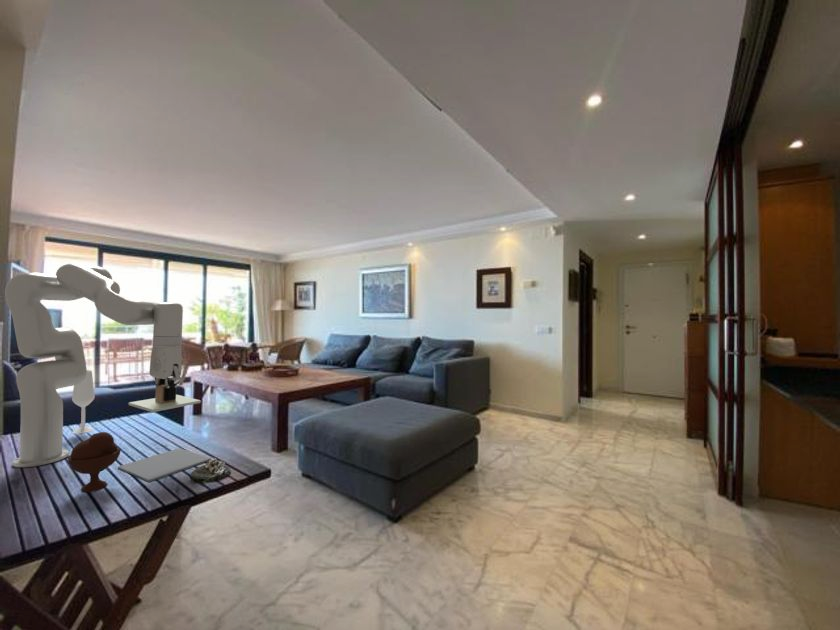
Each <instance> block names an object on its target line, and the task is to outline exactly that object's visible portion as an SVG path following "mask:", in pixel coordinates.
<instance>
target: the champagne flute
mask: <svg viewBox="0 0 840 630" xmlns="http://www.w3.org/2000/svg"><path fill="white" fill-rule="evenodd" d="M93 376H94V375H93V370H91V369H88V370H87V373H86V377H85V379H84V380H83V381H82V382H81V383H79V384H77V385H73V391H72V398H71V401H72V402H73V403H74V404H75V405H76V406H78V407H80V408H81V411H80V413H81V415H80V416H81V417H80V419H81V421H80V426H79V427H78V428H76V429H75V430H73V431H71V434H75V435H78V434H86V433H90V432H93V431H94V430H95V429H94V428H93V427H90V426H86V407H88V406H90V404H91V403H92V402H93V401H94V400H95V398H96V396H95V395H96V394H95V389H94V388H95V385H94V378H93Z"/></svg>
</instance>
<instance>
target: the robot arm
mask: <svg viewBox="0 0 840 630" xmlns="http://www.w3.org/2000/svg"><path fill="white" fill-rule="evenodd" d="M120 290H121V287H120V284H119V283H117V281H115V280H113V277H112V275H111V273H110V272H109V271H108V270H106V268H103V267H101V266H96V265H90V264H89V265H88V264H82V263H67V264H64V265H61V266H60V267H59V268H58V269H57V270H56V272H55V274H51V273H41V272H24V273H19V274H17V275H14V276H13V277H12V278H11V279H9V280H8V282H7V283H6V286H5V289H4V299H5V302H6V305H7V307H8V309H9V312H10V314H11V317H12V321H13V329H14V333H15V338H16V343H17V344H16V345H17V349H18V352H19V354H20V355H21V356H23V357H24V358H27V359H39V358H40V359H42V358H51V357H54V359H53V360H47V361H39V362H38V361H37V362H33V363H29V364H27V365H25V366H23V367H21V369H19V371H18V372H17V374H16V378H15V381H16V385H17V389H18V392H19V399H20V400H19V401H20V425H19V426H20V428H19V429H20V434H19V437H20V438H19V439H20V440H19V443H20V444H19V446H20V447H19V457H16V458H15V459H13V460H12V466H13V467H15V468H32V467H39V466H45V465H47V464H48V465H49V464H52V463H55V462H59V461H61V460H64V459H67V457H68V456H70V452H69V450H68V449H63V445H64V444H63V439H64V438H63V436H64V435H63V434H64V433H63V431H64V429H63V428H64V402H63V399H62V397H61V396H60V394H59V393H58V391H57V390H59V389H64V388H68V387H74V385H77V384H79V383H81V382H82V381H83V380H84V379H85V377H86V373H87V363H86V357H85V356H86V355H85V352H84V347H83V341H82V339H81V336H80V335H79V334H78V333H77V331H75V330H74V329H71V328H68V327H54V325H53V320H52V315H51V313H50V311H49V310H48V308H47V307H46V306H45V305H44V304H42V303H41V301H42V300H44V301H63V302H65V301H66V302H67V301H76V300H79V299H84V298H86V299H87V300H89V301H91V302H92V303H94V305H95V308H96V309H97V311H98V312H99V313H100V314H101V315H103V316H105V317H107V318H109V319H111V320H113V321H114V322H116V323H119V324H121V325H125V326H148V325H149V326H151V325H152V326H153V332H152V334H153V335H152V349H151V354H150V361H149V362H150V363H149V375H150V376H151V377H153V378H154V380H155V381H154V382H155V383H154V384H155V387H156V386H159V385H166V388H164V401H169V400H175V399H176V395H177V387H178V383H179V382H180V381H182V380H181V379H182V378H181V376H182V372H183V371H182V369H183V368H182V364H183V363H182V362H183V360H182V348H181V347H183V346H182V344H183V343H182V341H183V316H184V315H183V314H184V313H183V312H184V308H183V305H182V304H181V303H177V302H157V301H150V300H149V301H147V300H146V301H145V300H131V299H128V298H125V297H124V296H122V295H120V292H121V291H120Z"/></svg>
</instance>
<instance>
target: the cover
mask: <svg viewBox="0 0 840 630" xmlns="http://www.w3.org/2000/svg"><path fill="white" fill-rule="evenodd" d="M164 388H166V385H159V386H156V385H155V395H154V398H148V399H147V398H146V399H143V400H142V399H141V400H136V401H130V402H128V406H131V407H134V408H137V409H140V410H143V411H147V412H150V413H157V412H161V411H166V410H167V411H168V410H171V409H176V408H181V407H186V406H191V405H197V404H201V402H202V401H201V400H200V399H196V398H192V397H189V396H184V395H181V394H176V399H175V400H169V401H164Z"/></svg>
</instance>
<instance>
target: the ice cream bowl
mask: <svg viewBox="0 0 840 630" xmlns="http://www.w3.org/2000/svg"><path fill="white" fill-rule="evenodd" d="M121 451H122V449H121V447H119V446H118V445H116V443H115V439H114V436H113V435H112V434H110V433H109V432H107V431H101V432H96V433H93V434H92V435H90V437H89V438H87V439H85V440H81V441H80V442H78V443H77V444H76V445H75V446H74V447H73V449H72V450H71V453H70V454H69V455H68V456H67V457H66V459H67V462H68V464H69V466H70V468H71V469H72V470H73V471H75V472H77V473H79V474H83V475H84V474H85V475H89V477H90V478H89V482H87V483H86V484H84V485H83V486H82V487H81V488H80V491H81V492H82V493H91V492H95V491H96V492H97V491H99V490H101V489H105V488H106V487H107V486H108V483H107V482H106V481H105V480H100V477H99V475H100V473H101V472H102V471H105V470H106V469H108V468H109V467H111V465H113V464H114V463H115V462H116V461H117V460H118V459H119V457H120V454H121Z"/></svg>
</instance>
